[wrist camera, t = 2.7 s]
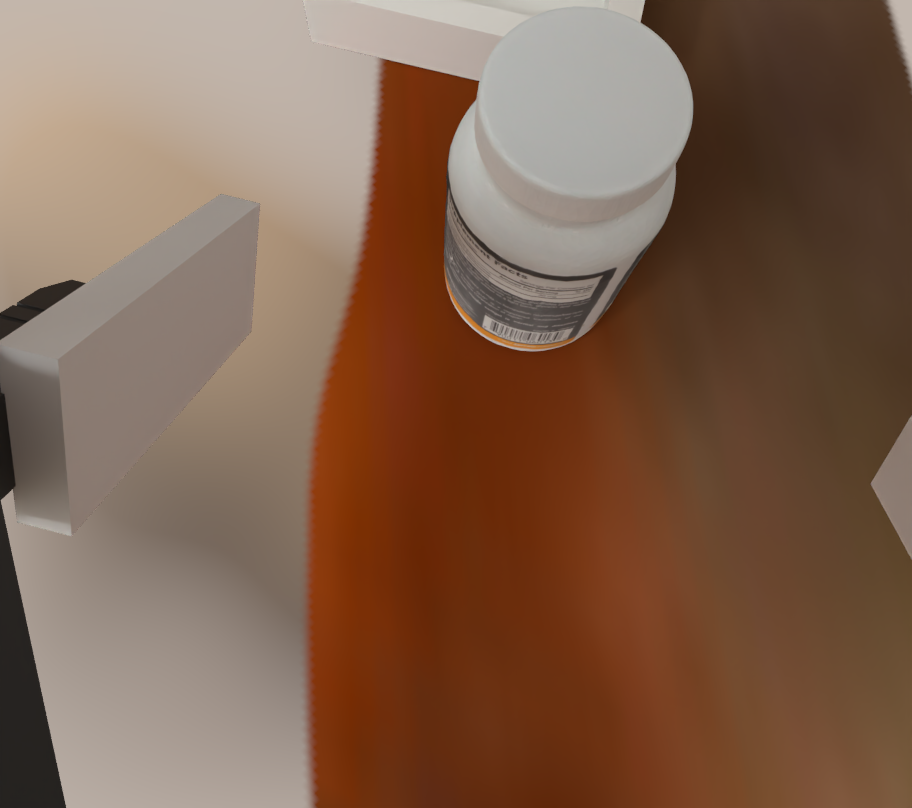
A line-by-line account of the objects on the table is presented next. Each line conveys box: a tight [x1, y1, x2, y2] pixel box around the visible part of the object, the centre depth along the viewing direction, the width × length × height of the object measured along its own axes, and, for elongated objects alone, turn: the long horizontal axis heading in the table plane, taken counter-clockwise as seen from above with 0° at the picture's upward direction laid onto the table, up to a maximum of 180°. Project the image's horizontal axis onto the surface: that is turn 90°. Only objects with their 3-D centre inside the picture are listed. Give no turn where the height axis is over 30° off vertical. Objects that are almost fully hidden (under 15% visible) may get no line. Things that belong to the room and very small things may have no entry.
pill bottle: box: [444, 6, 693, 351], centre depth 21 cm, size 6×6×10 cm
